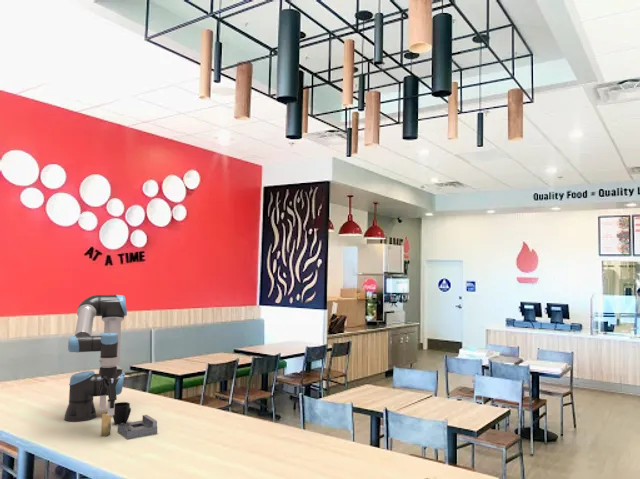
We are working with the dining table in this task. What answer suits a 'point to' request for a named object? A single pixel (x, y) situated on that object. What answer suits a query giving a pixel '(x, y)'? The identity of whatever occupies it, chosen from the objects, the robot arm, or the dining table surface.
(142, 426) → the jig
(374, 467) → the dining table surface
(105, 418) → the brass cylinder
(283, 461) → the dining table surface
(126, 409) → the mug
